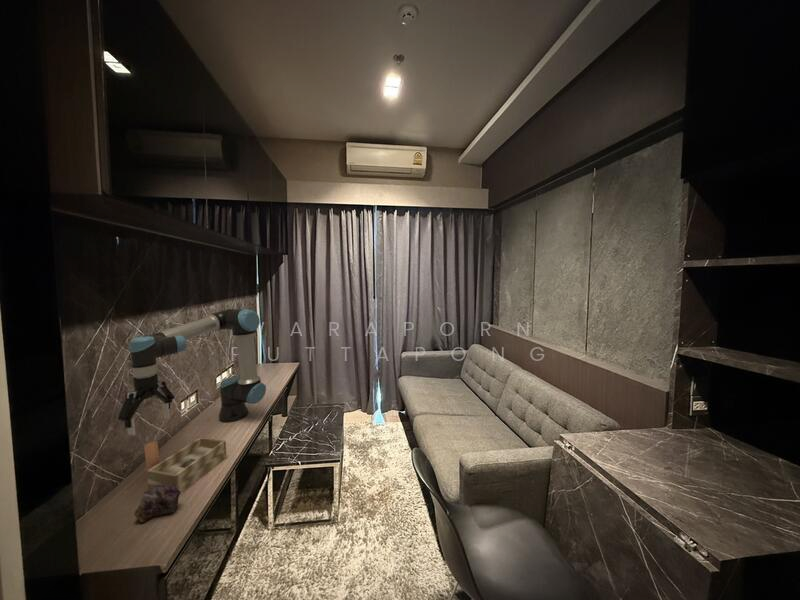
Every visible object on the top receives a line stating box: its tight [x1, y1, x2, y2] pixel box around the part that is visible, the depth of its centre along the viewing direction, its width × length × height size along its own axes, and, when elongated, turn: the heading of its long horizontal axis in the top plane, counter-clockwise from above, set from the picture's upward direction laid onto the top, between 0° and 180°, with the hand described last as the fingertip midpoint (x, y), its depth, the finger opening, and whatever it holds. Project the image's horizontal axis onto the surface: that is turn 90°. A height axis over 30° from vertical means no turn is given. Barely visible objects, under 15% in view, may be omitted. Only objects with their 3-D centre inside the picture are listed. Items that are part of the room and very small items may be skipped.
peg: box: [143, 440, 160, 472], centre depth 122 cm, size 4×4×15 cm
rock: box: [133, 484, 181, 523], centre depth 106 cm, size 12×9×10 cm
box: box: [146, 437, 227, 494], centre depth 126 cm, size 24×14×8 cm, turn 167°
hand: (150, 425), depth 121 cm, fingers open, 13 cm apart
